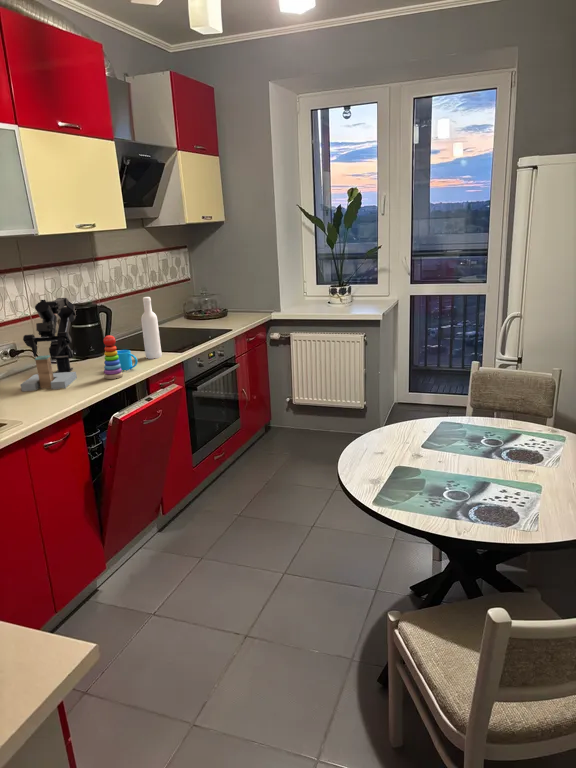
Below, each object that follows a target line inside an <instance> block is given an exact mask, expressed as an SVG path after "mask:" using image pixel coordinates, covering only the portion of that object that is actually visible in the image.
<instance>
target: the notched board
mask: <svg viewBox="0 0 576 768" xmlns="http://www.w3.org/2000/svg"><path fill="white" fill-rule="evenodd" d="M53 377H54V380H53V381H52V382H50V383H51V388H50V389H51V390H60V388H64V389H67V388H68V387H69V386H70V385H71V384H72V383H73V382H74V381H75V380H77V379H78V377H77V371H70V372H61V373H55V372H53ZM19 385H20V389H21V392H32V391H34V390H35V391H37V390H38V389H40V388H41V387H40V381H39V376H38V373H37V374H33V375H31V376H30V377H29V378H27V379H26V380H25V381H23V382H22V383H20V384H19ZM68 385H69V386H68ZM67 386H68V387H67ZM66 387H67V388H66Z"/></svg>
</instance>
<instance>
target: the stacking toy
mask: <svg viewBox="0 0 576 768" xmlns="http://www.w3.org/2000/svg"><path fill="white" fill-rule="evenodd" d="M116 342H117V341H116V338H115V336H114V335H105V337H103V344H104V345H105V347H104V353H103V354H104V366H103V367H104V370H103V373H104V374H103V377H104V379H106V380H116V378H117V379H120V378H122V377H123V376H124V373H123V371H122V369H121V368H120V367H121V364H120V361H119V359H118V358H119V356H118V355H117V351H118V350H117V346H116Z"/></svg>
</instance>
